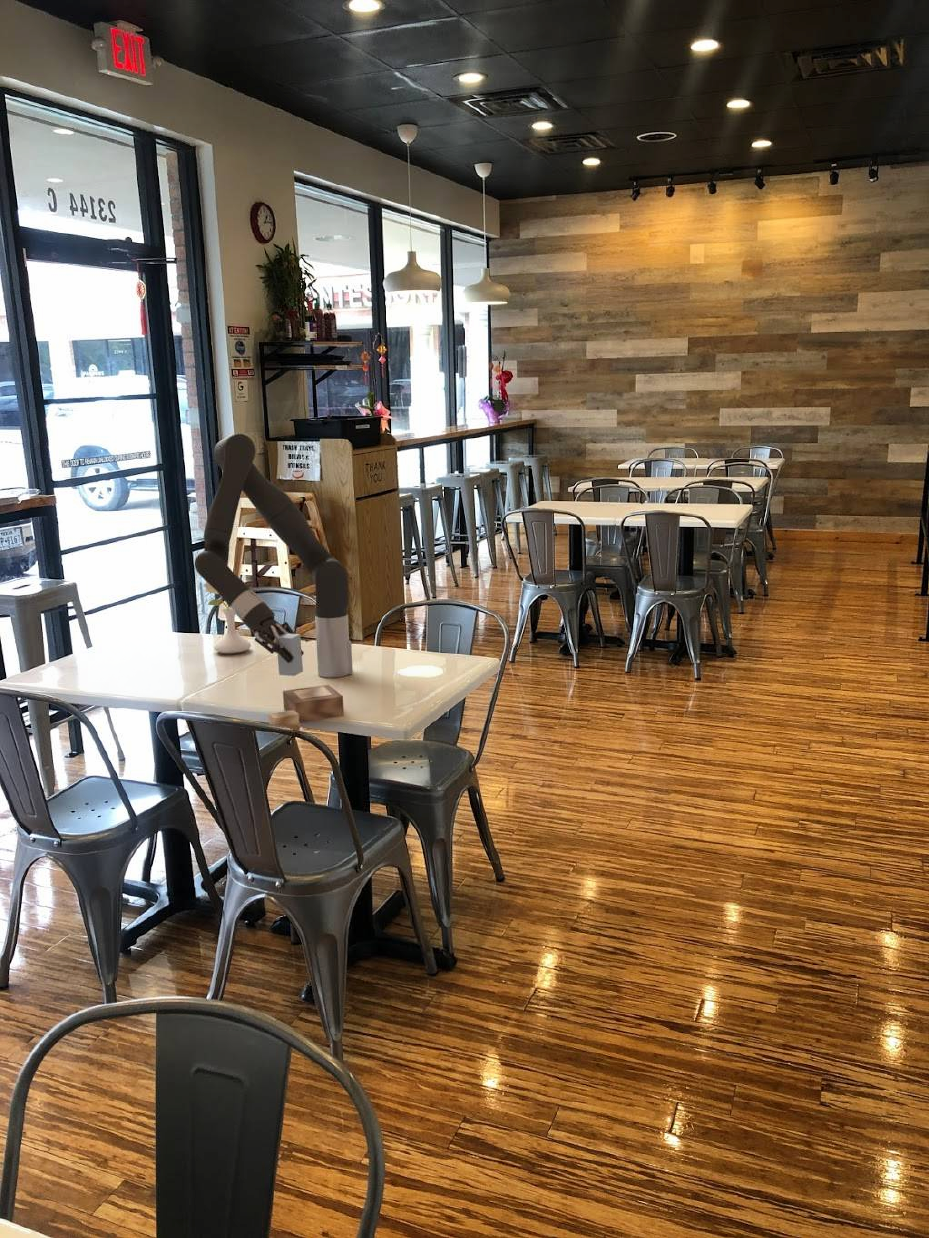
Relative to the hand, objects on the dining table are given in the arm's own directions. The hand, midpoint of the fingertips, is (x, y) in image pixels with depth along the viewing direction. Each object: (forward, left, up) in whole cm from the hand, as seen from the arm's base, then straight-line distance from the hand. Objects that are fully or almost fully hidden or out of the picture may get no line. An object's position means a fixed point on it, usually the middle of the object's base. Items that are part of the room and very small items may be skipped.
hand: (296, 658), depth 272 cm
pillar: (+1, -1, -4) cm, 5 cm away
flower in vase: (+5, -63, -12) cm, 65 cm away
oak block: (+10, +23, -12) cm, 27 cm away
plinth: (0, +13, -11) cm, 17 cm away
